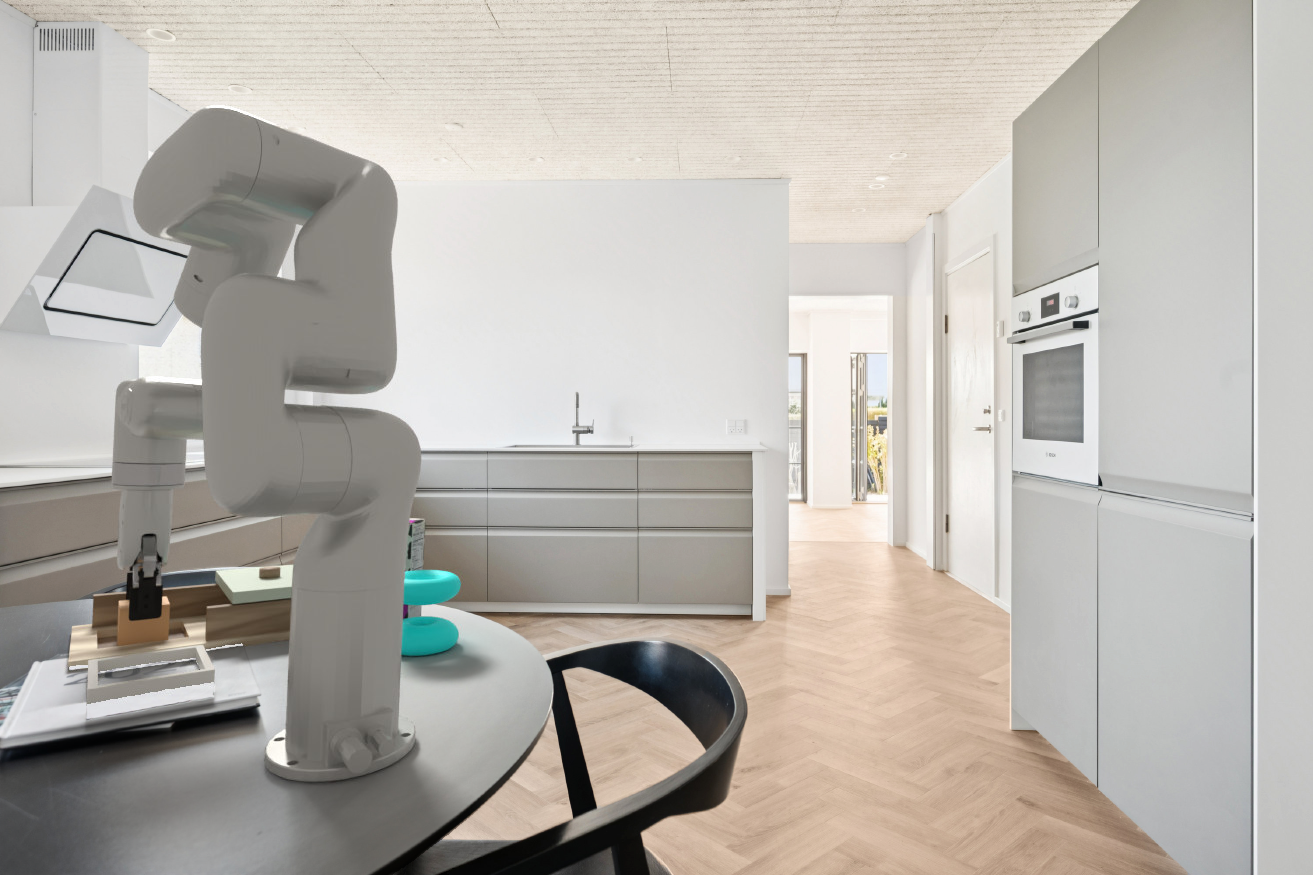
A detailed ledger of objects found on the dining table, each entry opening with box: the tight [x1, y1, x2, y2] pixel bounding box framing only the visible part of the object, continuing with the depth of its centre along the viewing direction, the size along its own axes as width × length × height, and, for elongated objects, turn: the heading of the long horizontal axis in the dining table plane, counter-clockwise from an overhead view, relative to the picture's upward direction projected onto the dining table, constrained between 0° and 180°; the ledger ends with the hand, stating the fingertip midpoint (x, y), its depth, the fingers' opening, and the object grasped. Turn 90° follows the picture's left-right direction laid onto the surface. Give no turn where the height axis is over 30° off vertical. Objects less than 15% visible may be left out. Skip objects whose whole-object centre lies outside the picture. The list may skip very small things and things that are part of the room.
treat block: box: [117, 596, 170, 646], centre depth 86 cm, size 5×5×5 cm
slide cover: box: [214, 564, 293, 604], centre depth 95 cm, size 16×11×3 cm
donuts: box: [401, 569, 462, 657], centre depth 93 cm, size 10×10×10 cm
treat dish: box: [86, 645, 216, 705], centre depth 74 cm, size 11×11×3 cm
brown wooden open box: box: [67, 583, 291, 668], centre depth 90 cm, size 17×27×7 cm, turn 130°
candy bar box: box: [403, 517, 426, 619], centre depth 103 cm, size 11×5×16 cm, turn 84°
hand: (142, 609), depth 86 cm, fingers open, 9 cm apart
